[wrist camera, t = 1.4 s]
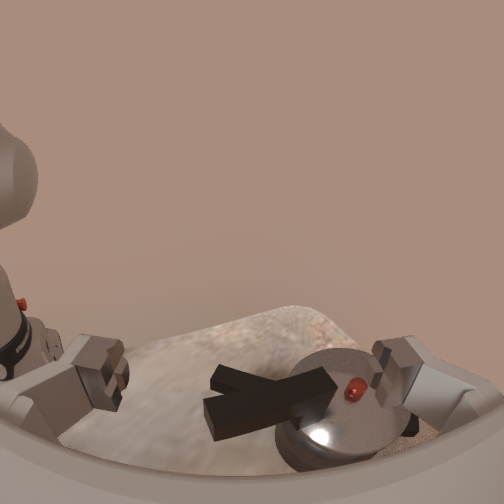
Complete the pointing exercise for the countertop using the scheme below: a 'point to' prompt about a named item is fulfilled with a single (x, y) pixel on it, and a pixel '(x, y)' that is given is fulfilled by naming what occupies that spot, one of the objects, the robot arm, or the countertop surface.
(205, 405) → the pressure cooker lid
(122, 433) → the countertop surface
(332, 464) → the pressure cooker pot
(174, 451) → the countertop surface
